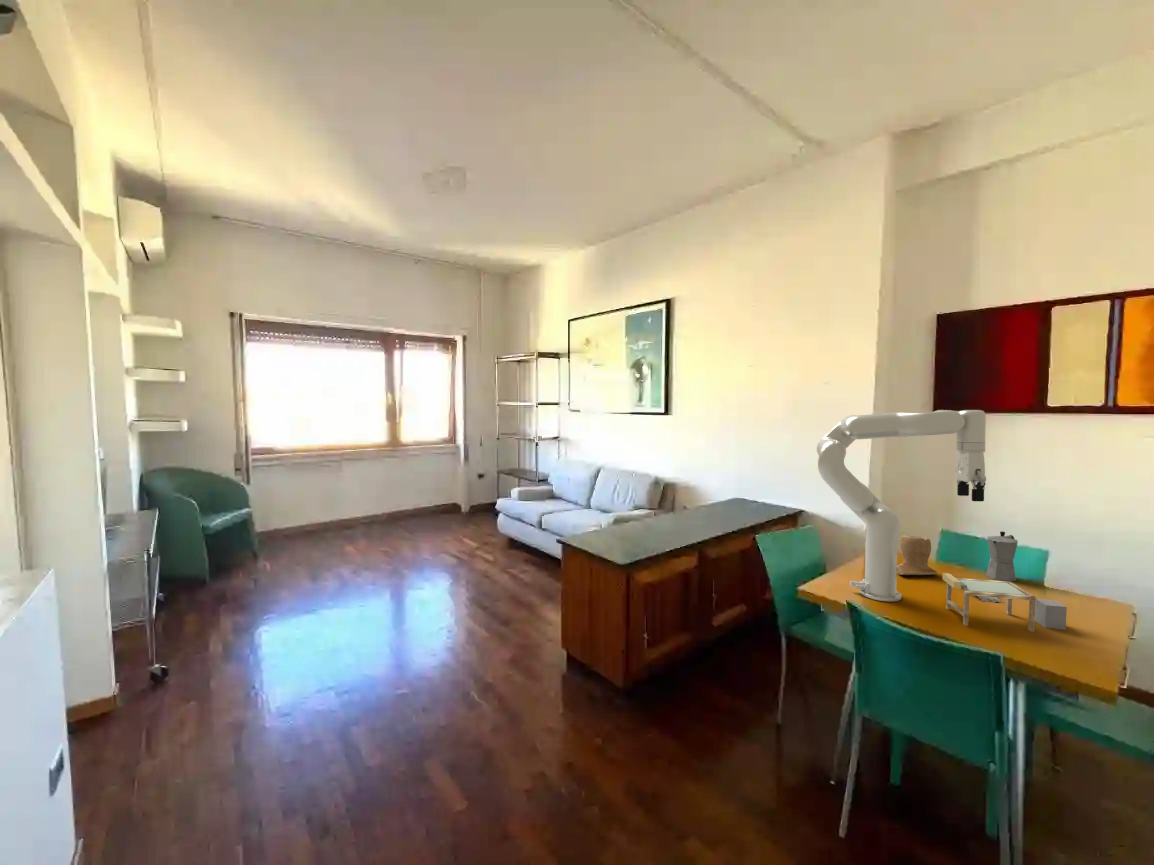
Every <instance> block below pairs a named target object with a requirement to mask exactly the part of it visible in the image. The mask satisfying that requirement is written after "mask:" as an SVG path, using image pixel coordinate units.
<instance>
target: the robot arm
mask: <svg viewBox="0 0 1154 865" xmlns="http://www.w3.org/2000/svg"><path fill="white" fill-rule="evenodd" d="M986 418H987V417H986V413H985V411H984V410H981V409H963V410H951V409H948V410H947V409H945V410H944V409H937V410H935V411H932V412H900V411H899V412H885V413H873V414H872V413H870V414H858V415H856V414H851V415H849V414H848V415H846V416H845V417H843V418H842V419H841V420H840V421H839V422H838V423H837V424H836V425H835V426H834V427H833V428H832V429H831V430H830V431H829V432H827V433H826V434H825V435H824V436H823V437H822V438H821V439H820V440H819V442H818V443H817V445H816V453H817V454H818V460H817V470H818V472H819V475H820V478H822V479H823V481H824V482H825V483H826V484H827V485H828V486H829V488H831V489H832V490H833V492H834V493H835V494H837V496H838V497H839V498H840V500H841V501H842V503H844V504H845V505H846V506H847V508H849V509H850V510H851V511H852V512H853V514H855V515H856V516H857V517H858V518H859V520H861V521H862V522H863V523H864V524H865V525H866V536H865V560H864V561H865V564H864V565H865V566H864V567H865V568H864V569H865V570H864V578H862V580H859V581H855V580H850V581H849V585H850V587H855V589H859V593H860V595H862V596H864V597H866V598H869V599H871V600H876V601H881V602H886V603H887V602H889V603H890V602H898V601H900V600H902V594H901V593H900V591H898V590H897V576H898V573H897V565H898V542H899V541H898V538H899V535H900V534H899V533H900V527H901V525H900V520H899V517H898V515H897V514H896V512H895V511H893V510H892V509H891V508H890V507H888V506H887V505H886V504H884V503H883V502H882V501H881V500H880V499H879V498H878V497H877V496H876V495H875V494H874V493H873V492H872V491H871V489H870V488H869V487H867V485H866V484H864V483H863V482H861V481H860V480H859V479H858V478H857V477H856V476H855V475H853V473H852V472H851V471H850V470H849V469H848V468H847V467H846V465H845V459H846V455H847V448H848V447H849V446H850V445H851V444H853V442H854V441H855V440H868V439H869V440H872V439H886V438H907V437H916V436H917V437H918V436H919V437H920V436H923V437H924V436H938V435H953V434H956V450H955V451H956V456H955V461H954V463H955V464H954V477H955V479H956V484H957V490H956V491H957V492H956V493H957V494H956V495H957V496H959V497H968V496H970V484H971V486H972V488H971V501H973V502H984V501H985V489H986V487H985V486H986V482H987V476H986V466H985V464H986V462H985V453H986V421H987V420H986ZM969 483H970V484H969Z"/></svg>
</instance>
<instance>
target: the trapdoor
mask: <svg viewBox="0 0 1154 865" xmlns="http://www.w3.org/2000/svg"><path fill="white" fill-rule="evenodd" d="M956 578H957V577H955V576H953V575H952V574H951V573H948V572H942V578H941V579H942V581H944V582H945V583H946V584H947V583H948V584H949V585H950V586H952V589H960V590H961V589H963V591H974V592H988V593H1001V594H1014V595H1025V594H1023V593H1022V592H1020V591H1019V590H1017V589H1016V588H1014V587H1012V586H1011V585H1009V584H1008V583H1000V582H986V581H972V580H959V579H956Z"/></svg>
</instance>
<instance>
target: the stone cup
mask: <svg viewBox="0 0 1154 865" xmlns="http://www.w3.org/2000/svg"><path fill="white" fill-rule="evenodd" d="M899 541H900V542H899V545H900V546H899V547H900V550H901V554H902V559H903V560H902V563H900V564H897V575H901V576H930V575H931V576H933V575H937V574H939V573H938V571H937V570H935V569H933V568H931V567H930V566H929V565H928V562H929V558H930V556H931V552H932V544H931V543H932V542H931V540H930V538H928V537H924V536H918V535H901V537H900V540H899Z"/></svg>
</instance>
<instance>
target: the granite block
mask: <svg viewBox="0 0 1154 865" xmlns="http://www.w3.org/2000/svg"><path fill="white" fill-rule="evenodd" d="M1067 611H1068V610H1067V606H1066V605H1065V604H1063V603H1061V602H1060V601H1058V600H1055V599H1044V598H1043V599H1042V598H1036V603H1035V622H1036V623H1038V624H1039V625H1040V626H1042V627H1043V628H1045V629H1052V628H1054V630H1055V629H1056V630H1063V629H1064V631H1065V630H1067Z"/></svg>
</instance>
